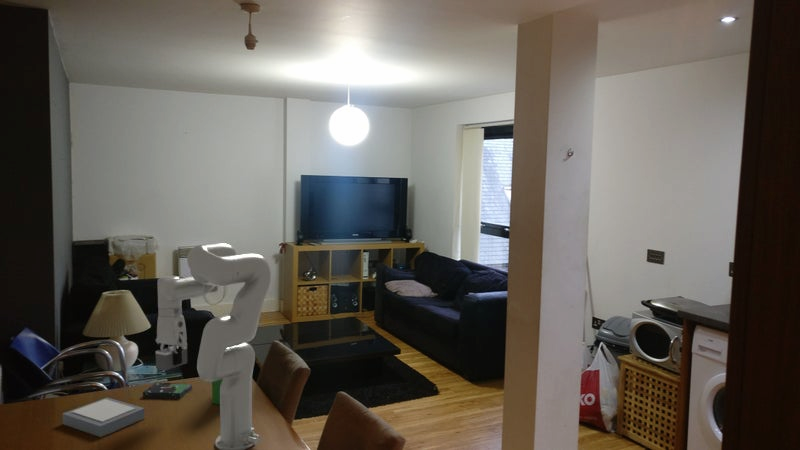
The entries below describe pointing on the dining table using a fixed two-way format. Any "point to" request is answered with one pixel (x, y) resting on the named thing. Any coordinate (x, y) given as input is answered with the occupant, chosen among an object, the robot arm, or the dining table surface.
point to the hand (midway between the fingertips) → (171, 362)
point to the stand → (103, 416)
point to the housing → (168, 358)
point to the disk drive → (167, 390)
